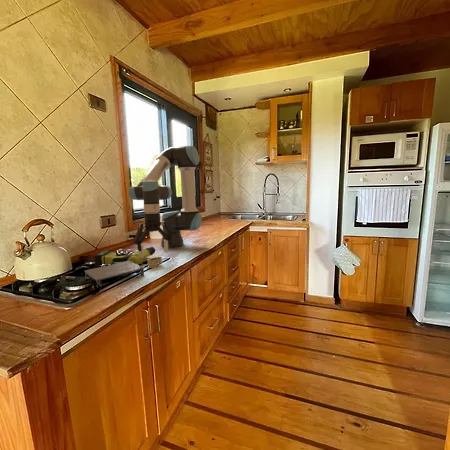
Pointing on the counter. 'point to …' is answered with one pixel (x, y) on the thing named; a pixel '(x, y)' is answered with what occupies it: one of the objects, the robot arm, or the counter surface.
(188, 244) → the counter surface
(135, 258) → the cordless drill
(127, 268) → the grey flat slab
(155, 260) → the stacked layers on plate
